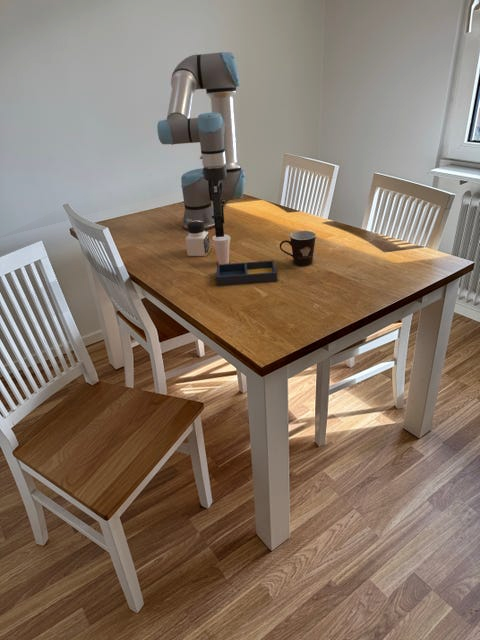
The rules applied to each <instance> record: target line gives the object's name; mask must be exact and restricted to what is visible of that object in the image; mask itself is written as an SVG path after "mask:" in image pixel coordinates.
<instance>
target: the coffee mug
mask: <svg viewBox="0 0 480 640" xmlns="http://www.w3.org/2000/svg"><path fill="white" fill-rule="evenodd" d="M289 238H290V240H287V239H285V240H282V241H281V242H280V243H279V249H280V250H281V251H282V252H283V253H284V254H286V255H288V256H290V257H292V261H293V264H294V265H295V266H297V267H308V266H311V265H312V264H313V260H314V251H315V245H316V238H317V234H316V232H314V231H311V230H297V231H293V232H292V233H290V234H289ZM284 243H287V244H289V245H290V247H291V253H290V252H287V251H286V250H284V249H283V248H282V245H283V244H284Z"/></svg>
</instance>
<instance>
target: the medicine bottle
mask: <svg viewBox="0 0 480 640" xmlns="http://www.w3.org/2000/svg"><path fill="white" fill-rule="evenodd" d="M187 226H188V230H187V231H188V235H187V236H186V237H185V239H184V240H185V247H186V253H187V257H206V256H207V255H208V254H209V252H210V251H211V243H210V234H209V231H206V230H204V223H203V222H202V221H192V222H190V223H188V225H187Z"/></svg>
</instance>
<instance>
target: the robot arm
mask: <svg viewBox="0 0 480 640" xmlns="http://www.w3.org/2000/svg"><path fill="white" fill-rule="evenodd" d="M240 85H241V84H240V76H239V71H238V65H237V60H236V57H235V54H234V53H233V52H229V51H228V52H223V51H220V52H213V53H212V52H211V53H201V54H198V53H197V54H192V55H189V56H187V57H185V58H184V59H182V61H180V62H179V63H178V64H177V65H176V67H175V68H174V70H173V72H172V74H171V78H170V86H171V92H170V98H169V99H170V100H169V104H168V109H167V113H166V114H167V115H166V119H163V120H159V121H157V125H156V126H157V127H156V129H157V136H158V140H159V142H160V144H162V145H171V146H173V145H181V144H182V145H183V144H196V143H197V144H198V143H199V145H200V146H199V147H200V153H201V155H200V156H199V160H201V163H202V166H203V167H201V168H196V169H192V170H189V171H186V172H184V173H183V174H182V175H181V178H180V181H181V182H180V183H181V184H180V187H181V190H182V198H183V204H184V212H183V219H182V227H183V229H185V230H187V231H188V226H187V225H188V223H190V222H192V221H202V222H203V223H204V230H205V231H206V230H211V229H213V228H214V231H215V232H214V233H215V236H216V237H224V234H225V231H224V229H225V228H224V224H225V214H224V207H225V205H226V204H227V202H228V201H234V200H235V201H236V200H241V199H243V197H244V192H245V177H246V170H244V169H242V166H241V164H240V163H239V162H238V156H237V155H238V154H237V153H238V152H237V141H236V140H237V139H236V138H237V137H236V125H235V111H234V96H235V94H236V93H237V88H238V87H240ZM196 90H197V91H198V90H205V91H206V95H207V96H208V98H209V99H210V106H211V112H204V113H200V114H198V116H197V117H191V116H190V115H191V109H192V101H193V97H194V96H193V95H194V93H195V92H196Z"/></svg>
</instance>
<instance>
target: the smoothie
mask: <svg viewBox="0 0 480 640" xmlns="http://www.w3.org/2000/svg"><path fill="white" fill-rule="evenodd" d="M211 241H212V242H213V246H214V251H215V254H216V259H217V263H218V265H219V264H230V243H231V242H230V241H231V235H229V234H226V233H224V237H216V235H213V236H212V237H211Z"/></svg>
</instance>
